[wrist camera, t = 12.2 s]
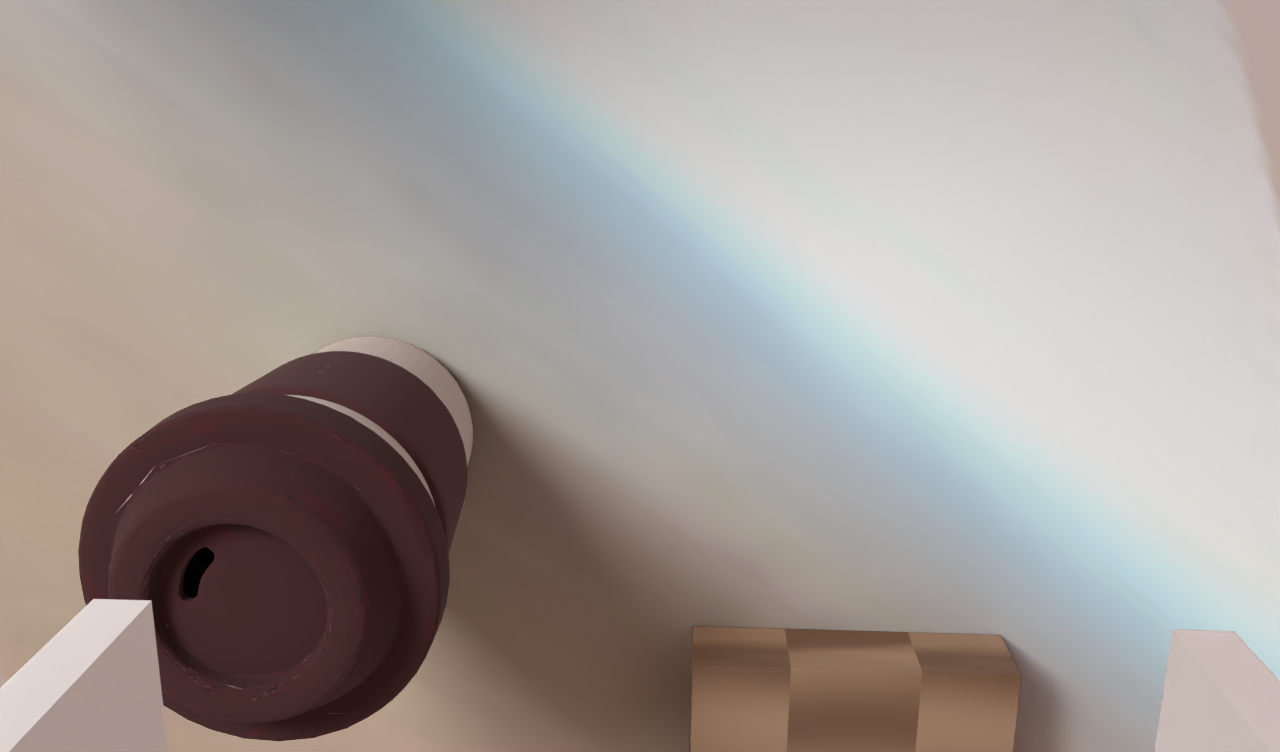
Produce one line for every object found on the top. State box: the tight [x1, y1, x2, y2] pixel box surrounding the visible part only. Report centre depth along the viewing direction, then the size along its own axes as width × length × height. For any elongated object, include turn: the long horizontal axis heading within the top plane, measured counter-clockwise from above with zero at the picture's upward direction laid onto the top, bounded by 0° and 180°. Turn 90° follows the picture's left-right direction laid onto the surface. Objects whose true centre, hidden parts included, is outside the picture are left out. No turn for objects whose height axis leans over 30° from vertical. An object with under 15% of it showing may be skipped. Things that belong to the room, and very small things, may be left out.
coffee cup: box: [79, 336, 473, 741], centre depth 38 cm, size 10×10×15 cm
